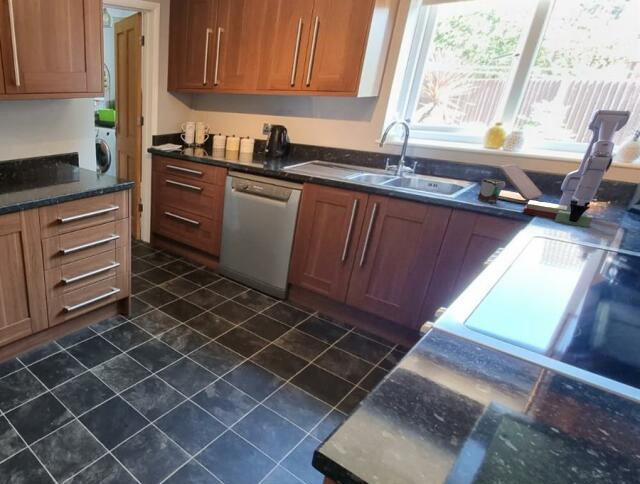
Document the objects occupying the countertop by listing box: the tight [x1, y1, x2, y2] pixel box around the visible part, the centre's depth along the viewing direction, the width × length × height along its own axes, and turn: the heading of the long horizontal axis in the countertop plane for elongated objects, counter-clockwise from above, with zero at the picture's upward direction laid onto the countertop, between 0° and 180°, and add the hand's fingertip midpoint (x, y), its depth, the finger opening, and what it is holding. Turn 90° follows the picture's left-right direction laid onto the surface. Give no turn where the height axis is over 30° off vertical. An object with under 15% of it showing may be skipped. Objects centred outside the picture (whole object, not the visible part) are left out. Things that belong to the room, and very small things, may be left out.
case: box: [476, 163, 543, 204], centre depth 211 cm, size 20×21×16 cm
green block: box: [554, 210, 594, 228], centre depth 172 cm, size 5×10×4 cm, turn 44°
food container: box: [476, 177, 506, 204], centre depth 203 cm, size 12×6×10 cm, turn 168°
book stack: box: [522, 200, 567, 220], centre depth 184 cm, size 11×13×4 cm
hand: (572, 219), depth 173 cm, fingers open, 7 cm apart
